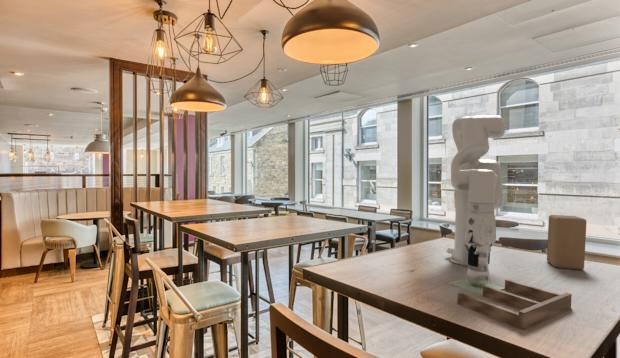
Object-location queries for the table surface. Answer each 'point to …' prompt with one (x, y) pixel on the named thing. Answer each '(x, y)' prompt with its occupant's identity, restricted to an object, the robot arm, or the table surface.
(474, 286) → the mat
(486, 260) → the plastic bottle
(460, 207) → the robot arm
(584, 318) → the table surface
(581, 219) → the block
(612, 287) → the table surface
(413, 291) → the table surface
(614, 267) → the table surface
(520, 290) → the bottle rack
